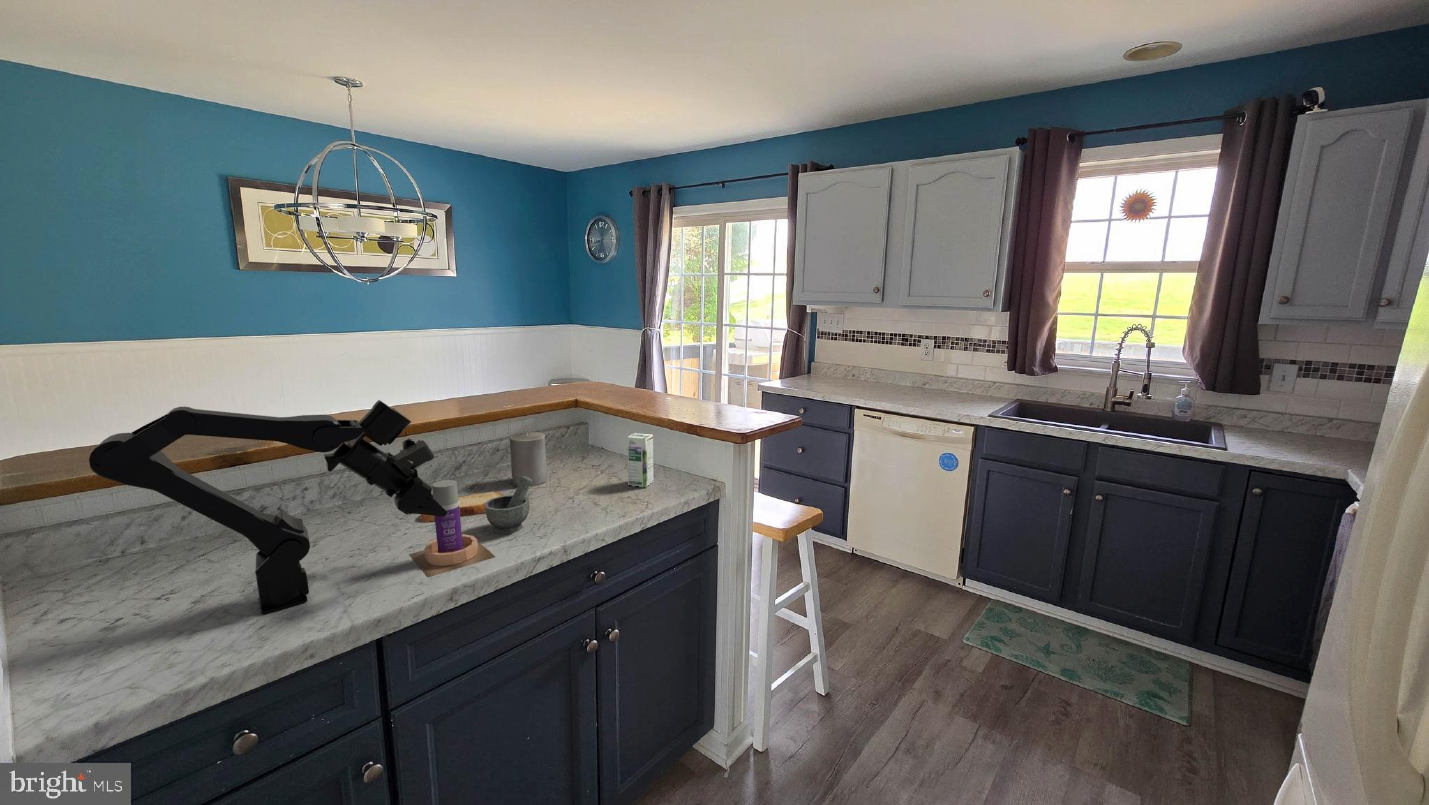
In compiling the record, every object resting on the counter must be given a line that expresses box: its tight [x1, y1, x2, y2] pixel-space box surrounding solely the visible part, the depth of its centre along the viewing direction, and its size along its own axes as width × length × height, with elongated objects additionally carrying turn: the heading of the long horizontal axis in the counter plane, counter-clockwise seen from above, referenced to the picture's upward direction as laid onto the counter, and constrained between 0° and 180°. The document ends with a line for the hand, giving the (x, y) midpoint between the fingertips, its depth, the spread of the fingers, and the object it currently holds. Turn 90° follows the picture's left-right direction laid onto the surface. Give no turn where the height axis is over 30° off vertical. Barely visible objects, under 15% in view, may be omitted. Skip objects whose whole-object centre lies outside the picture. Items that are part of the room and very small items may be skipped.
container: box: [431, 479, 463, 553], centre depth 116 cm, size 5×5×15 cm
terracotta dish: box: [423, 533, 479, 566], centre depth 118 cm, size 10×10×2 cm
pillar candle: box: [509, 431, 548, 488], centre depth 165 cm, size 10×10×15 cm
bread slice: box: [419, 491, 505, 523], centre depth 143 cm, size 18×18×4 cm
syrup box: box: [626, 432, 654, 489], centre depth 163 cm, size 6×6×14 cm
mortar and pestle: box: [484, 476, 533, 535], centre depth 131 cm, size 11×9×12 cm
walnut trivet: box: [408, 540, 496, 578], centre depth 118 cm, size 13×13×1 cm
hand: (440, 507), depth 115 cm, fingers open, 9 cm apart
